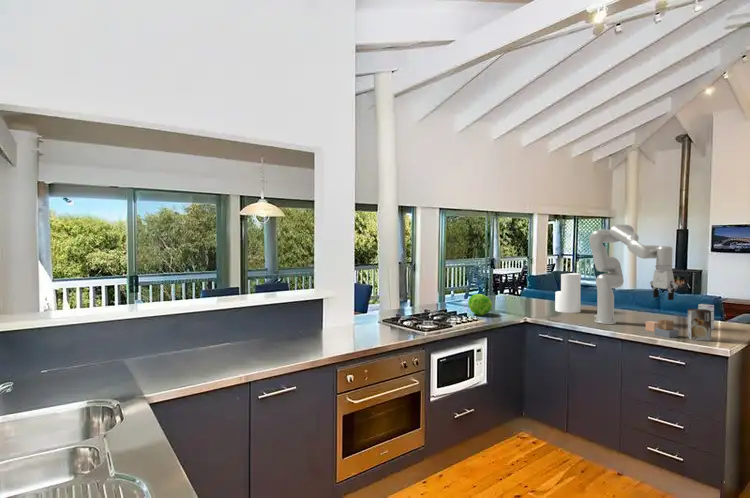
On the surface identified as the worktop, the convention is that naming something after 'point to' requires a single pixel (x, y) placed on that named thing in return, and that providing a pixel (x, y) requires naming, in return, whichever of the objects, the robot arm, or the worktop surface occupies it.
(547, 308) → the worktop surface
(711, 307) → the syrup box
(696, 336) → the coffee box
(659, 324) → the walnut cube
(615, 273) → the robot arm
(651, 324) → the terracotta cube
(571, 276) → the cylinder
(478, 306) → the lettuce
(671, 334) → the base block
